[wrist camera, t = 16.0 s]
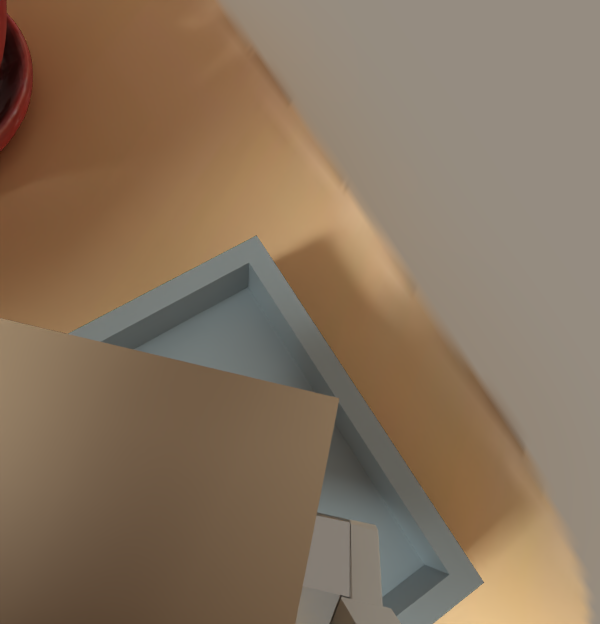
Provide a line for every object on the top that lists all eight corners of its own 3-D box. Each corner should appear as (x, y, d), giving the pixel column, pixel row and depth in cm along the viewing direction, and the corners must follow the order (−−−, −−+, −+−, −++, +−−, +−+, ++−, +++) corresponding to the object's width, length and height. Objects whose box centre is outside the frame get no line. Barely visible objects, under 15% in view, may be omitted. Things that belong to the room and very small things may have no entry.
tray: (-72, 447, 20) (-134, 438, 17) (254, 271, 24) (256, 235, 20) (101, 834, 17) (68, 915, 14) (445, 568, 21) (484, 582, 17)
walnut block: (50, 606, 14) (-235, 764, 6) (116, 408, 15) (-31, 310, 7) (247, 651, 14) (246, 870, 6) (291, 449, 15) (339, 398, 7)
